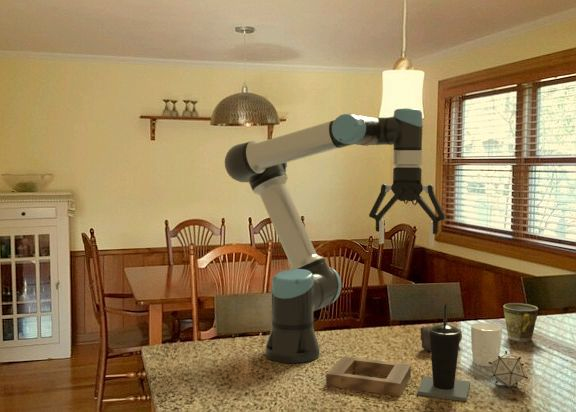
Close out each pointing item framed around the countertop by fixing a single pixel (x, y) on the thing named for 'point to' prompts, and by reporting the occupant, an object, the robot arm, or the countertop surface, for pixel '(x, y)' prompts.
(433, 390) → the slate mat
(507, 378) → the game die
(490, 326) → the white cup
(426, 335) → the perforated stone tool
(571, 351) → the countertop surface
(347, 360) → the holder frame
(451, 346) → the drinking cup
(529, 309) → the ceramic cup
